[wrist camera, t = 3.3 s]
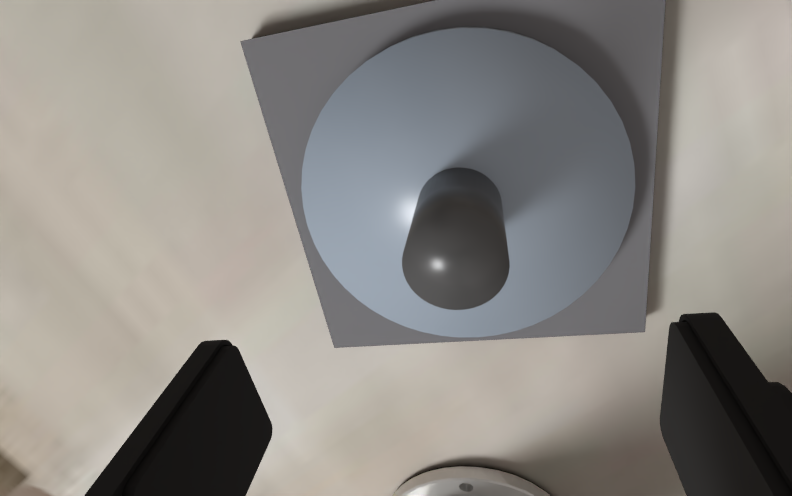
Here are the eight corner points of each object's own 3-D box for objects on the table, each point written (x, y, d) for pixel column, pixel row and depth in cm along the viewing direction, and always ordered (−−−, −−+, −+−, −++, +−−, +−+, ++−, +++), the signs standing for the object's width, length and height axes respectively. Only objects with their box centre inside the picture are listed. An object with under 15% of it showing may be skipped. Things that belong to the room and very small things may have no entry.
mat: (638, 319, 24) (645, 332, 23) (338, 336, 27) (334, 347, 26) (658, -47, 17) (668, -49, 16) (250, 39, 20) (240, 41, 19)
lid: (624, 315, 23) (669, 411, 17) (348, 333, 26) (315, 419, 20) (633, -11, 17) (706, -13, 11) (268, 64, 20) (193, 88, 14)
